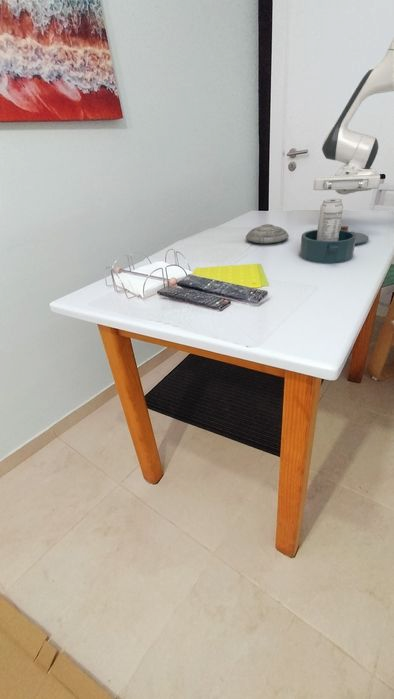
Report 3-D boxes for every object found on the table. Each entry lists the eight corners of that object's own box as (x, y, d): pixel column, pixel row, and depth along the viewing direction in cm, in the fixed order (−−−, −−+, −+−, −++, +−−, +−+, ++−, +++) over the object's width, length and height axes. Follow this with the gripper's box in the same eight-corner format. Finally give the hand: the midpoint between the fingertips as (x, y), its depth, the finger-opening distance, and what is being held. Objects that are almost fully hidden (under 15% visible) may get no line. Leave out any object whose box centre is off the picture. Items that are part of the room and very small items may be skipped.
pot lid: (361, 233, 119) (363, 220, 116) (374, 246, 106) (377, 231, 103) (314, 235, 122) (316, 221, 119) (321, 247, 108) (323, 233, 106)
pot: (344, 245, 109) (347, 226, 106) (360, 265, 92) (364, 243, 89) (297, 246, 111) (298, 227, 108) (304, 267, 95) (306, 245, 91)
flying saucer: (239, 245, 118) (239, 228, 115) (252, 234, 129) (253, 219, 126) (282, 247, 112) (283, 230, 109) (292, 235, 123) (293, 220, 120)
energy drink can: (334, 250, 103) (342, 197, 95) (337, 256, 98) (345, 201, 90) (314, 250, 105) (320, 198, 97) (315, 256, 100) (322, 202, 92)
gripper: (316, 171, 120) (311, 176, 109) (380, 168, 112) (382, 173, 102) (314, 190, 123) (309, 197, 112) (376, 189, 115) (377, 195, 105)
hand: (344, 185), depth 107 cm, fingers open, 8 cm apart
